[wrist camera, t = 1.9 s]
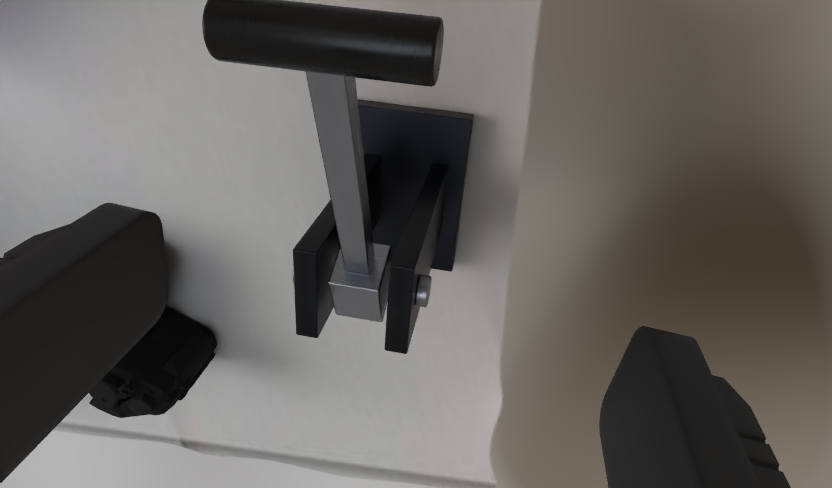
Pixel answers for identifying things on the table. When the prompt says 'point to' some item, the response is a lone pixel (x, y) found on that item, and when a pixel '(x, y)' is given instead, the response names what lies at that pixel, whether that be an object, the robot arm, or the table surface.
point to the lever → (335, 105)
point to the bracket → (394, 214)
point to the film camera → (156, 368)
